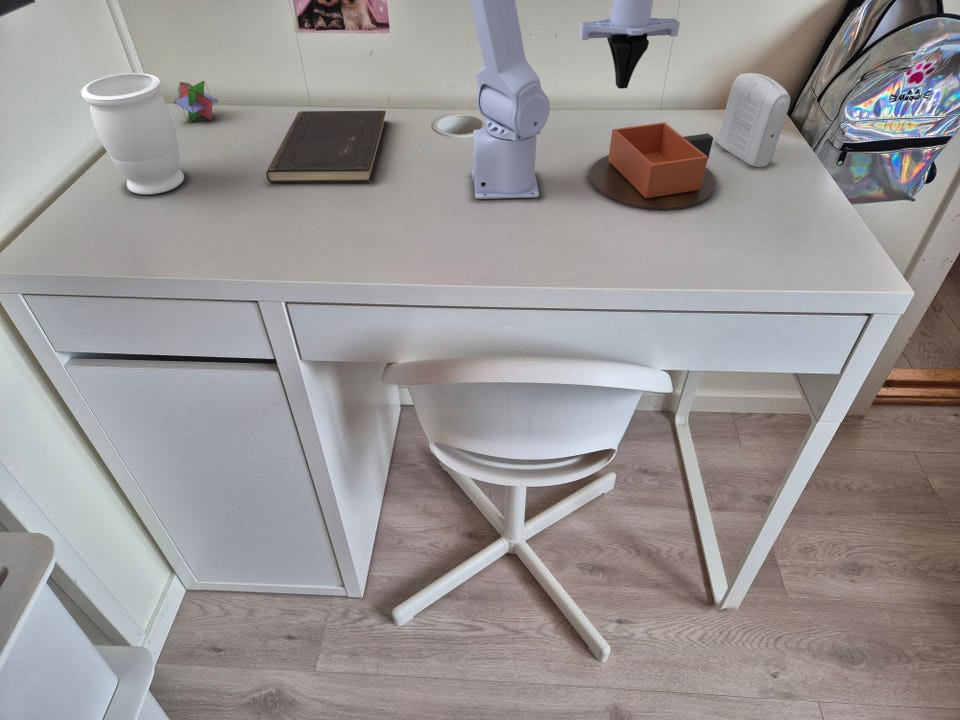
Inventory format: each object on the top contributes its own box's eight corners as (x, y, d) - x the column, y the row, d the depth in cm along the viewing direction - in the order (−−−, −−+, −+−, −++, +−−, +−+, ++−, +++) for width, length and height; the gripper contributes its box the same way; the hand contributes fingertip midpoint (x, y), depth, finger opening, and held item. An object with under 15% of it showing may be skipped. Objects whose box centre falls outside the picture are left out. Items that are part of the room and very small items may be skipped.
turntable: (601, 212, 94) (601, 208, 94) (581, 154, 108) (581, 150, 108) (732, 209, 94) (733, 205, 94) (695, 151, 108) (696, 148, 108)
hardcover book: (387, 123, 118) (385, 110, 117) (371, 183, 101) (369, 169, 100) (298, 123, 118) (296, 111, 117) (268, 183, 101) (264, 169, 100)
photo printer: (775, 165, 105) (800, 86, 96) (753, 170, 103) (777, 90, 95) (733, 140, 112) (753, 64, 103) (712, 144, 110) (731, 68, 102)
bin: (607, 160, 104) (611, 128, 101) (682, 149, 107) (688, 118, 104) (645, 198, 95) (651, 165, 92) (726, 185, 98) (734, 153, 94)
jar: (204, 182, 102) (173, 83, 92) (140, 206, 96) (99, 104, 86) (170, 161, 107) (137, 66, 97) (108, 183, 102) (67, 85, 92)
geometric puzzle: (233, 104, 120) (202, 64, 117) (208, 118, 115) (175, 77, 112) (214, 123, 124) (184, 85, 121) (190, 137, 120) (157, 98, 117)
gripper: (590, -3, 90) (581, 97, 99) (693, -6, 91) (674, 93, 100) (579, -15, 95) (571, 81, 104) (677, -19, 96) (660, 77, 105)
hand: (621, 86), depth 102 cm, fingers closed
